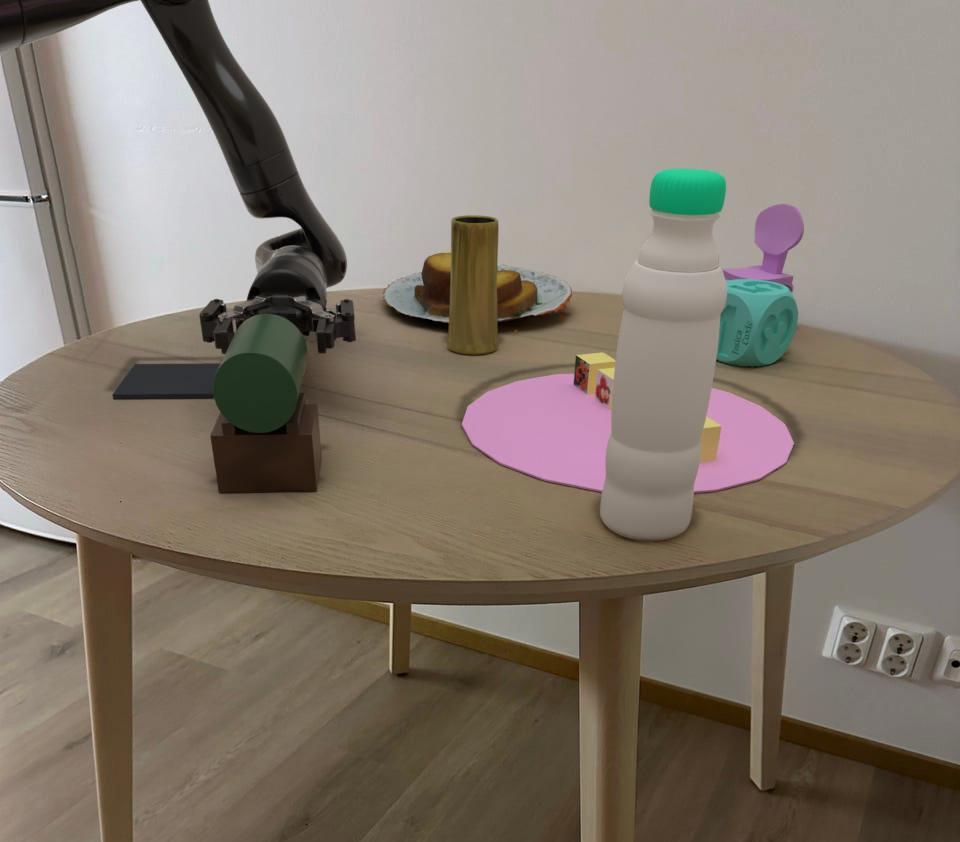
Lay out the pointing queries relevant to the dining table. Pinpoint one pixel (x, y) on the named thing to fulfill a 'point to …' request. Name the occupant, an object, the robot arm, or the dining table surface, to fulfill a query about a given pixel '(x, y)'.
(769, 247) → the toy chair
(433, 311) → the food on plate
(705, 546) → the dining table surface
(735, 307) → the decorative dice
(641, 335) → the water bottle
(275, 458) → the cradle
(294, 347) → the green can
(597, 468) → the platter
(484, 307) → the vase
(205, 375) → the coaster
